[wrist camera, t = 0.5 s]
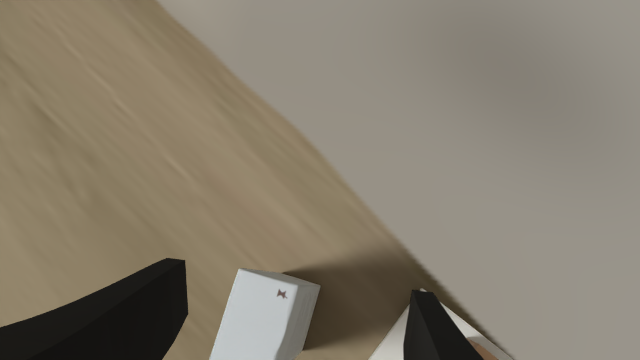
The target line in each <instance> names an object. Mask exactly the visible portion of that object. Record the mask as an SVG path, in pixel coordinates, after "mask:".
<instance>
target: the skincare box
mask: <svg viewBox="0 0 640 360" xmlns="http://www.w3.org/2000/svg"><path fill="white" fill-rule="evenodd" d="M320 287H321V286H320V285H318V284H315V283H311V282H308V281H305V280H302V279H299V278H296V277H292V276H289V275H285V274H282V273H277V272H269V271H261V270H253V269H245V268H240V269H239V270H238V273H237V276H236V279H235V282H234V285H233V288H232V291H231V294H230V297H229V300H228V303H227V306H226V309H225V312H224V316H223V319H222V322H221V325H220V328H219V332H218V335H217V338H216V341H215V344H214V347H213V350H212V353H211V356H210V359H209V360H293V359H294V358H295V357H296V356H297V355H298V354H299V353H301V351H302V350H303V346H304V343H305V339H306V336H307V332H308V329H309V325H310V322H311V318H312V315H313V311H314V308H315V304H316V301H317V297H318V294H319V290H320Z"/></svg>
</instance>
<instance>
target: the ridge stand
mask: <svg viewBox="0 0 640 360" xmlns="http://www.w3.org/2000/svg"><path fill="white" fill-rule="evenodd" d="M419 291H425V290H424V289H423V288H421V289H420V290H419ZM425 292H427V291H425ZM440 303H441V302H440ZM441 305H442V306H443V307H444V309H445V310H446V312H447V313H448V314H449V316H450V317H451V319H452V320H453V321H454V323H455V324H456V325H457V327H458V328H459V329H460V331H461V332H462V333H463V335H464V336H465V337H466V338H468V339H470V340H472V341H474V342H476V343H478V344H480V345H481V346H482V347H484V348H485V349H486V350H487V351H489V352H490V353H491V354H492V355H494V356H495V357H496V358H497V359H499V360H513V359H512V358H511V357H510V356H508V355H507V354H506V353H504V352H503V351H502V350H501V349H499V348H498V347H497V346H496V345H494V344H493V343H492V342H490V341H489V340H488V339H487V338H485V337H484V336H483V335H482V334H480V333H479V332H478V331H476V330H475V329H474V328H473V327H471V326H470V325H469V324H467V323H466V322H465V321H464V320H462V319H461V318H460V317H459V316H457V315H456V314H455V313H453V312H452V311H451V310H450V309H448V308H447V307H446V306H445V305H443V304H442V303H441ZM409 306H410V304H409V305H408V306H407V308H406V309H405V311H404V312H403V313H402V315H401V316H400V317H399V319H398V320H397V321H396V323H395V324H394V325H393V327H392V328H391V330H390V331H389V332H388V334H387V335H386V336H385V338H384V339H383V340H382V342H381V343H380V344H379V346H378V347H377V348H376V350H375V351H374V353H373V354H372V355H371V357H370V358H369V359H368V360H404V359H403V342H404V336H405V330H406V324H407V318H408V312H409Z"/></svg>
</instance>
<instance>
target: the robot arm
mask: <svg viewBox="0 0 640 360" xmlns="http://www.w3.org/2000/svg"><path fill="white" fill-rule="evenodd" d="M187 315H188V302H187V285H186V268H185V260H179V259H171V258H166V259H163V260H161V261H159V262H156V263H154V264H152V265H150V266H148V267H146V268H144V269H142V270H140V271H138V272H136V273H134V274H132V275H130V276H128V277H126V278H124V279H122V280H120V281H118V282H115V283H113V284H111V285H109V286H107V287H105V288H103V289H101V290H98V291H96V292H94V293H92V294H90V295H87V296H85V297H83V298H81V299H79V300H76V301H74V302H72V303H69V304H67V305H64V306H62V307H59V308H57V309H54V310H51V311H49V312H46V313H43V314H41V315H38V316H35V317H32V318H29V319H26V320H23V321H20V322H16V323H13V324H10V325H7V326H3V327H0V360H162V359H163V357H164V356H165V354H166V353H167V351H168V350H169V348H170V347H171V345H172V344H173V342H174V341H175V339H176V337H177V335H178V333H179V331H180V329H181V327H182V325H183V323H184V321H185V319H186V317H187ZM403 359H404V360H484V359H483V357H482V356H481V355H480V354H479V353H478V352H477V351H476V349H475V348H474V347H473V346H472V345H471V343H470V342H469V341H468V340H467V338H466V337H465V336H464V335H463V333H462V332H461V331H460V329H459V328H458V327H457V325H456V324H455V323H454V321H453V320H452V319H451V317H450V316H449V314H448V313H447V312H446V310H445V309H444V307H443V306H442V305H441V303H440V302H439V300H438V299H437V297H436V296H435V295H434V293H433V292H425V291H418V290H412V294H411V300H410V306H409V312H408V318H407V324H406V330H405V336H404V342H403Z"/></svg>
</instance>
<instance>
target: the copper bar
mask: <svg viewBox="0 0 640 360" xmlns="http://www.w3.org/2000/svg"><path fill="white" fill-rule="evenodd" d="M467 340H468V341H469V342H470V343H471V345H472V346H473V347H474V348H475V349H476V351H477V352H478V353H479V354H480V355H481V356H482V357H483V359H484V360H499V359H497V358H496V357H495V356H494V355H492V354H491V353H490V352H489V351H487V350H486V349H485V348H484V347H482V346H481V345H480V344H478V343H476V342H474V341H472V340H470V339H468V338H467Z"/></svg>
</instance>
